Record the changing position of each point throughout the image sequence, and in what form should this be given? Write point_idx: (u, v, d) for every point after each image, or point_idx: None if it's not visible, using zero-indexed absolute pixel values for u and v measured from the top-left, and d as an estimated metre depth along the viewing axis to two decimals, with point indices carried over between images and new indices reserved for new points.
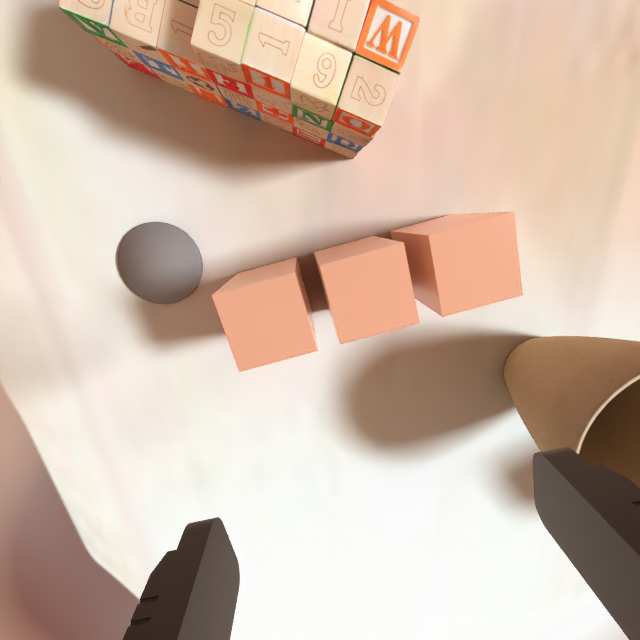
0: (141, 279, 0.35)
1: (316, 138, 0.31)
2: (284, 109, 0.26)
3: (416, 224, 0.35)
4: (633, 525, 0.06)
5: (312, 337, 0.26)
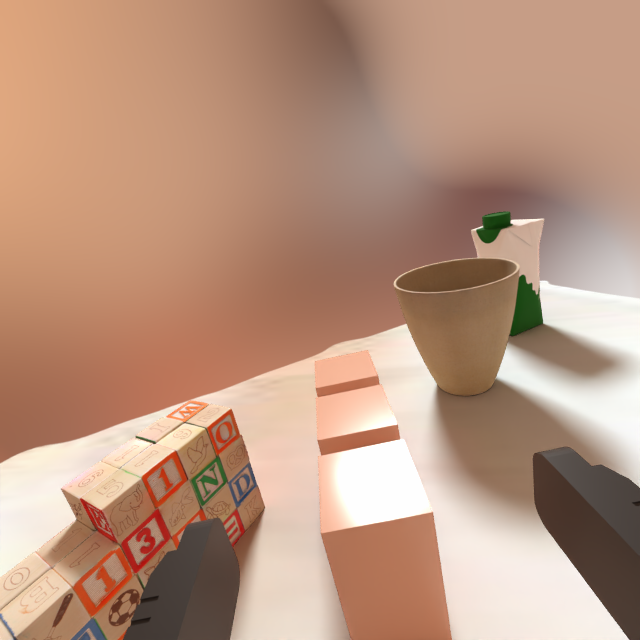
0: None
1: (233, 522, 0.33)
2: (192, 507, 0.29)
3: None
4: (633, 525, 0.06)
5: (388, 443, 0.25)
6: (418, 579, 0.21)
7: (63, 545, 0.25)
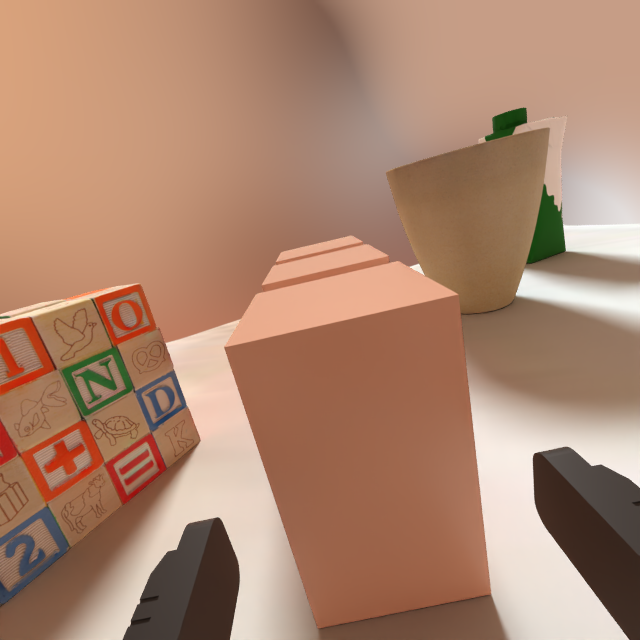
0: None
1: (144, 452, 0.22)
2: (65, 414, 0.19)
3: None
4: (633, 525, 0.06)
5: (372, 267, 0.15)
6: (428, 460, 0.10)
7: None
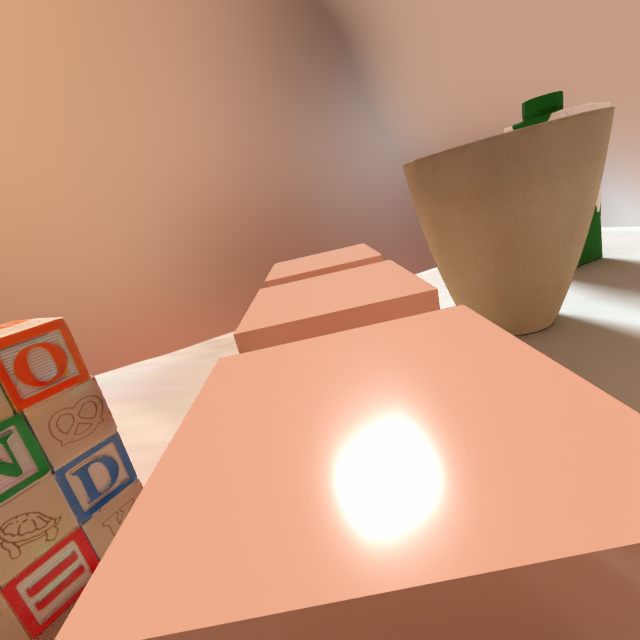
0: None
1: (69, 556, 0.16)
2: None
3: None
4: None
5: (419, 316, 0.09)
6: None
7: None
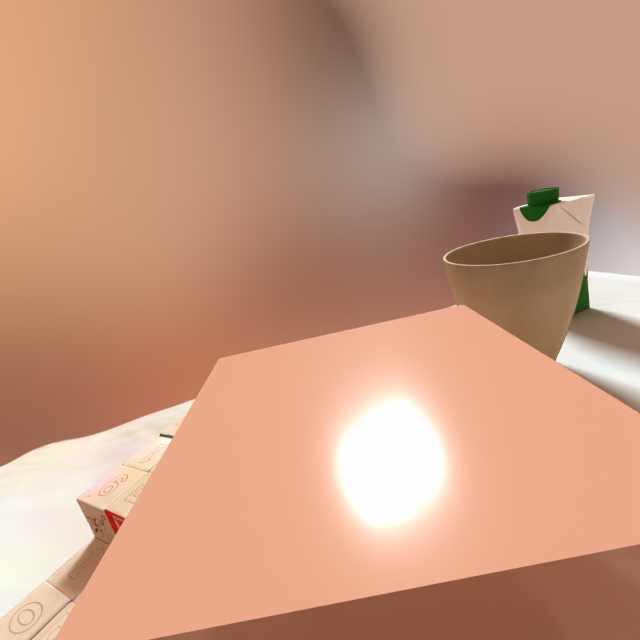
0: None
1: None
2: None
3: None
4: None
5: (419, 316, 0.09)
6: None
7: (82, 570, 0.20)
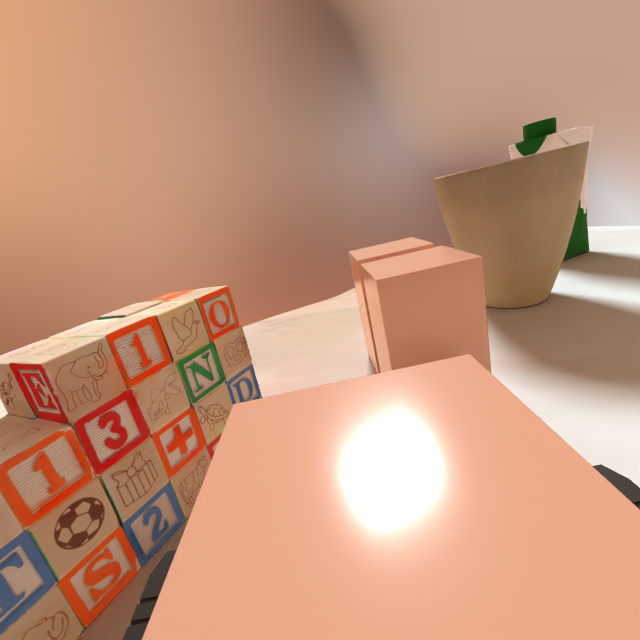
0: None
1: None
2: (180, 401, 0.21)
3: (373, 361, 0.33)
4: None
5: (426, 365, 0.09)
6: None
7: None
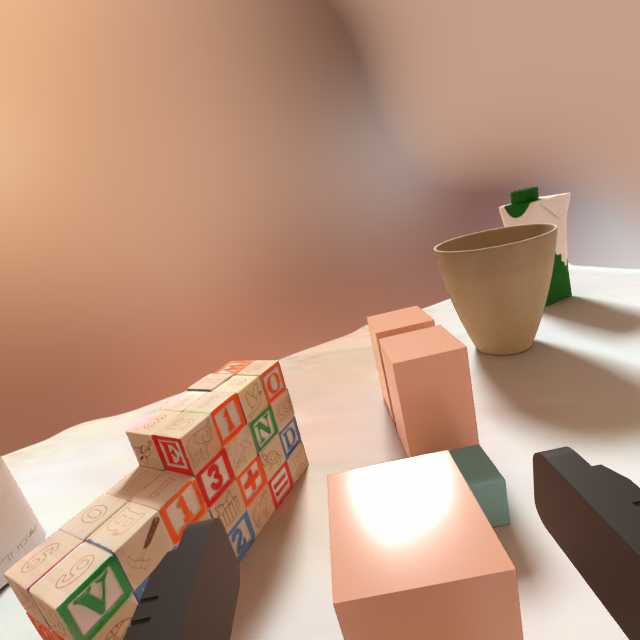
0: None
1: (284, 474, 0.33)
2: (251, 452, 0.30)
3: (387, 405, 0.42)
4: (633, 525, 0.06)
5: (426, 456, 0.18)
6: None
7: (134, 484, 0.25)
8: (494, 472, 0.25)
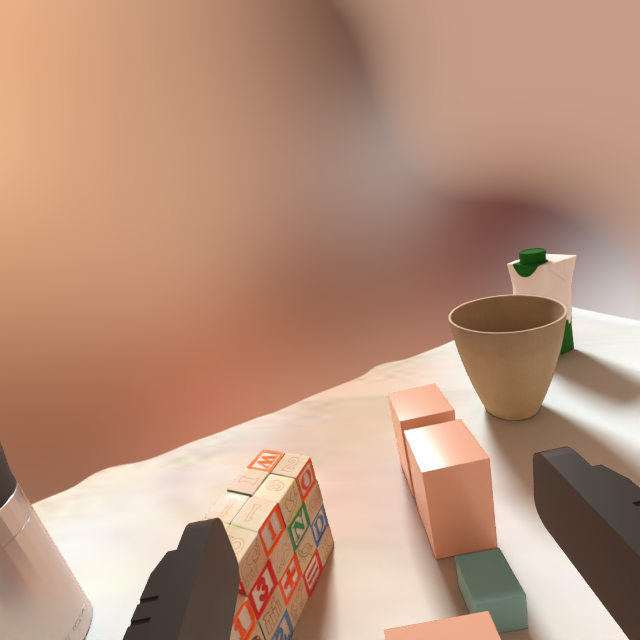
0: None
1: (314, 561, 0.36)
2: (289, 553, 0.32)
3: (406, 477, 0.45)
4: (633, 525, 0.06)
5: (469, 616, 0.21)
6: None
7: None
8: (515, 583, 0.28)
